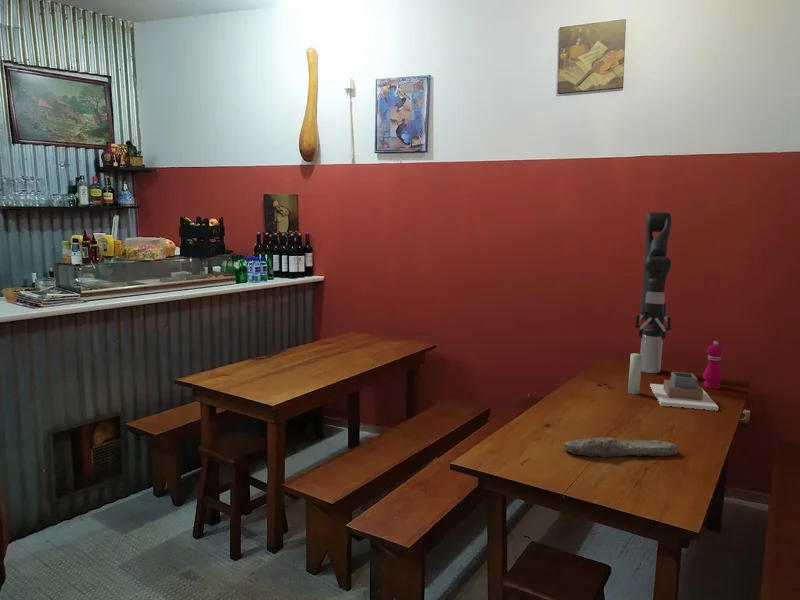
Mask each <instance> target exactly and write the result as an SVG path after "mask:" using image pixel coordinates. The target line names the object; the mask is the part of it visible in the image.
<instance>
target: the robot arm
mask: <svg viewBox="0 0 800 600" xmlns="http://www.w3.org/2000/svg"><path fill="white" fill-rule="evenodd" d="M671 227H672V215H671V213H669V212H667V211H666V212H665V211H663V212H662V211H661V212H660V211H657V212H656V211H655V212H654V211H653V212H651V211H649V212H648V213H646V217H645V245H644V247H645V248H644V249H645V250H644V256H643V269H642V271H643V272H642V273H643V277H642V279H643V280H642V291H641V292H642V293H641V299H640V300H641V301H640V307H639V310H640V312H639V313H637V314H636V317H635V325H634V327H635V328H636V329H638V330H639V332H638V333H639V334H638V337H640V339H641V340H640V351H639V352H640V353H639V354H641V355H642V365H641V373H648V374H659V373H661V365H662V355H663V342H664V340H665V339H666V332H668V331H671V327H672V326H671V319H672V318H671V317H670V316H666V313H667V304H666V302H665V287H666V281H667V276H668V274H669V272H670V269H671V267H672V260H671V259H670V258H669V257H667V255H668V254H667V252H668V242H669V237H670V233H671ZM653 233H659V234H657V235H656V236H654V235H653ZM640 320H642V321H644V322H643V323H642V324H641V325H639V324H640ZM665 322H667V327H665ZM647 325H649V326H647Z"/></svg>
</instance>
